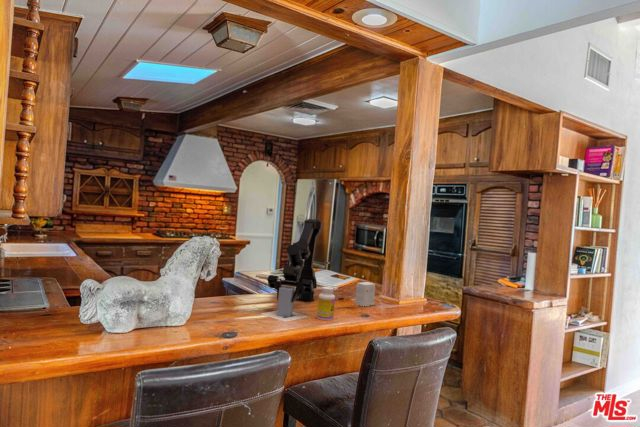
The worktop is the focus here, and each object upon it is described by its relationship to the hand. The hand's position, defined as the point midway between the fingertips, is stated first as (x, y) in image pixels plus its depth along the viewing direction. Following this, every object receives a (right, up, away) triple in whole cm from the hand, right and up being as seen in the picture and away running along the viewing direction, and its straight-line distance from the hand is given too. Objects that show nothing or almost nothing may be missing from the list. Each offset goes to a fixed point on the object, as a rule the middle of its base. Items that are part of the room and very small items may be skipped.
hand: (284, 301), depth 171 cm
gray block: (0, -6, +1) cm, 6 cm away
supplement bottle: (+16, -8, +2) cm, 18 cm away
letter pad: (0, -7, +1) cm, 7 cm away
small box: (+35, -9, +35) cm, 51 cm away
